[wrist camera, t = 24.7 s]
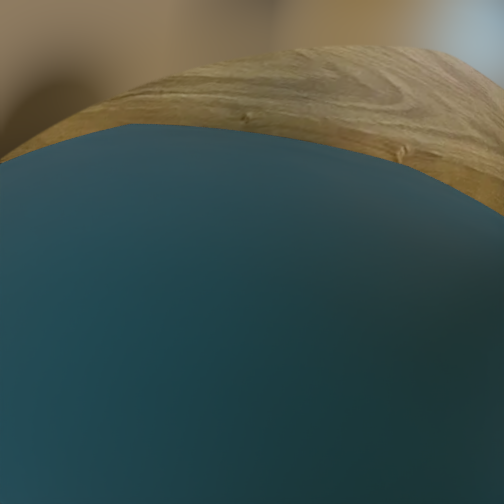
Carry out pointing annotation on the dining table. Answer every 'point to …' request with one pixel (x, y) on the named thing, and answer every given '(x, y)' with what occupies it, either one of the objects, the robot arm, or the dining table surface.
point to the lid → (245, 325)
